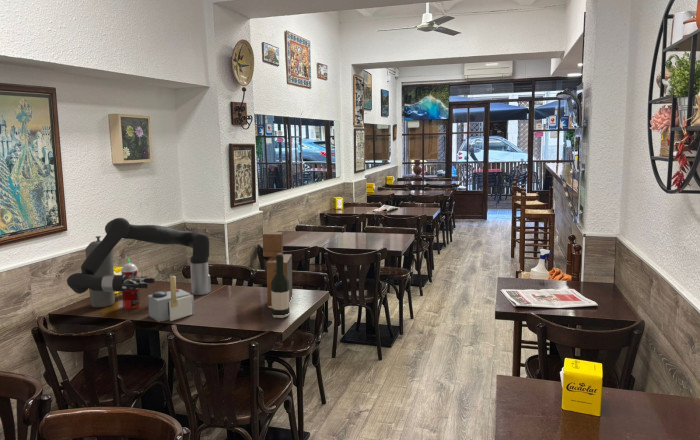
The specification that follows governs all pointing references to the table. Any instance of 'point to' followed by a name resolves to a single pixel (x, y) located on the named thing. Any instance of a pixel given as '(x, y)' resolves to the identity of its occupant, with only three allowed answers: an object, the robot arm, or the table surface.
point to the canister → (105, 269)
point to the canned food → (131, 299)
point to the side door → (179, 303)
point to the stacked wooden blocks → (271, 249)
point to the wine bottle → (280, 289)
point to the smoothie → (129, 270)
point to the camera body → (162, 304)
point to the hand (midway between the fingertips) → (151, 283)
